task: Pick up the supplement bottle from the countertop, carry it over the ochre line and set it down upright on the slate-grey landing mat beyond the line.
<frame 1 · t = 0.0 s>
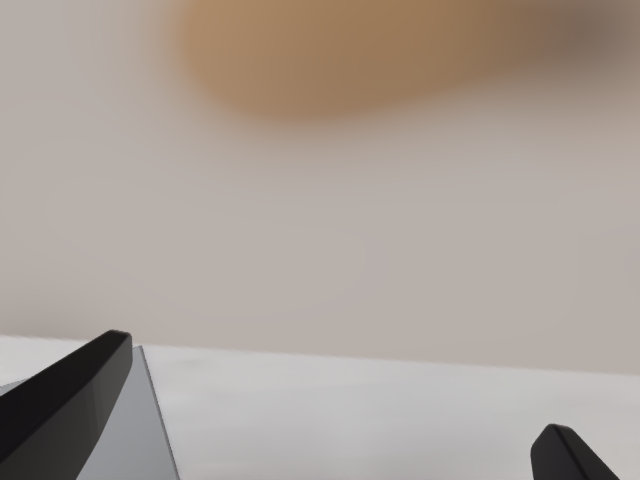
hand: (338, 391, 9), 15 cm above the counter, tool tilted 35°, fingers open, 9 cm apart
landing mat: (26, 456, 24), on the counter
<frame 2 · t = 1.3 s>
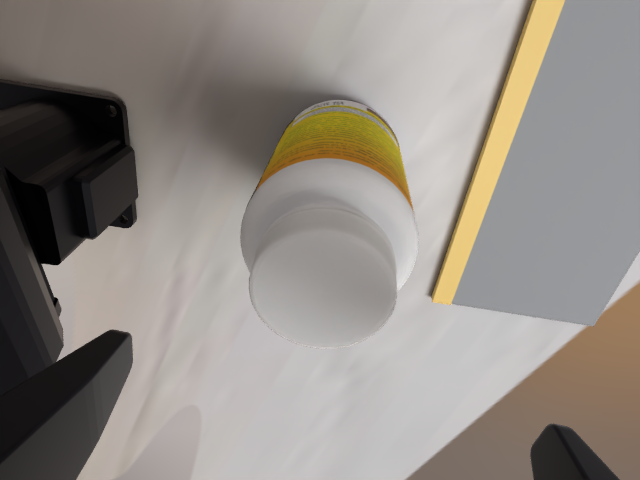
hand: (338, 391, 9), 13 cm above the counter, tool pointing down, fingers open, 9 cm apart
supplement bottle: (339, 156, 20), on the counter
landing mat: (579, 185, 20), on the counter
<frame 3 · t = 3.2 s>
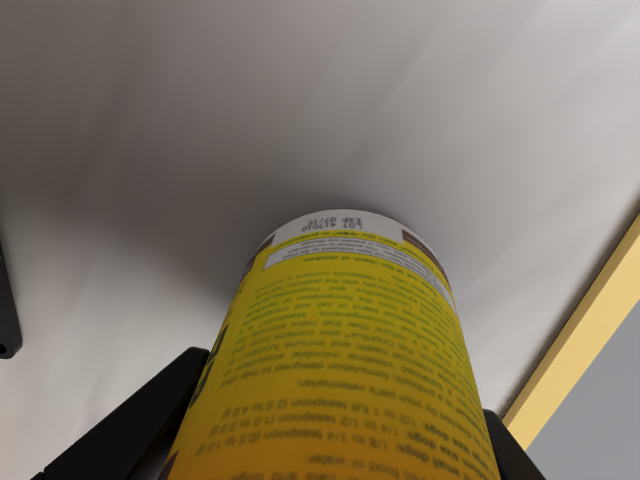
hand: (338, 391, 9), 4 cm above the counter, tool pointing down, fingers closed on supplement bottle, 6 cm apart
supplement bottle: (345, 285, 12), on the counter, touching gripper
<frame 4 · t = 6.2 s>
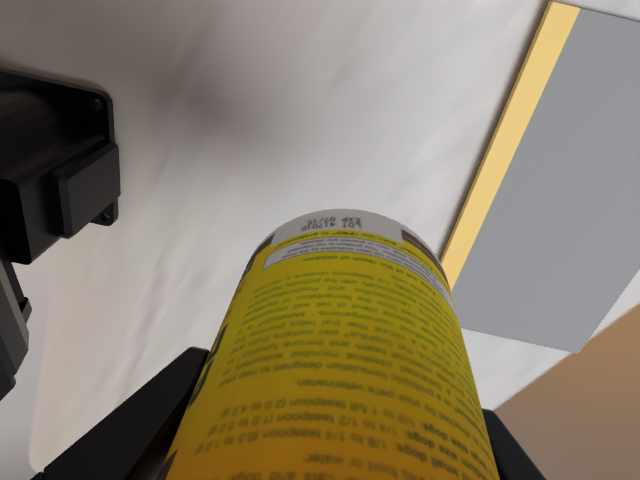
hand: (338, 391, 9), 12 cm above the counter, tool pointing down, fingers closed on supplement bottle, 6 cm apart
supplement bottle: (344, 284, 12), point 8 cm above the counter, touching gripper
landing mat: (573, 212, 20), on the counter
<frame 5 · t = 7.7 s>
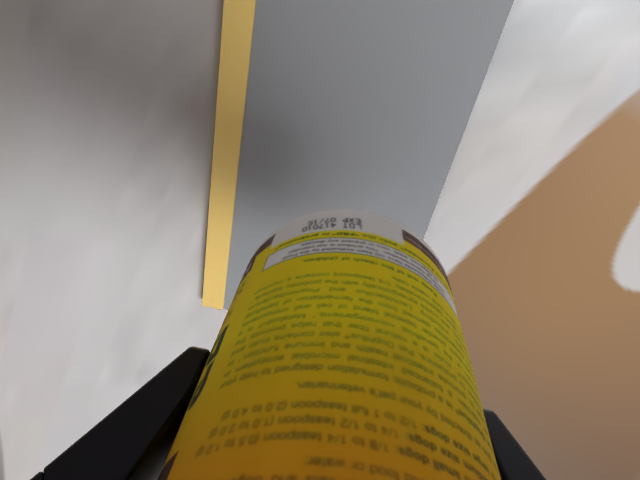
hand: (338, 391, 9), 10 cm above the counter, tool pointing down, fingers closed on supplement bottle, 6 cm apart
supplement bottle: (345, 285, 12), point 6 cm above the counter, touching gripper
landing mat: (335, 181, 17), on the counter
when the fingers open (5 cm above the counter, at t = 9.2 s): supplement bottle drops 2 cm, resting on landing mat.
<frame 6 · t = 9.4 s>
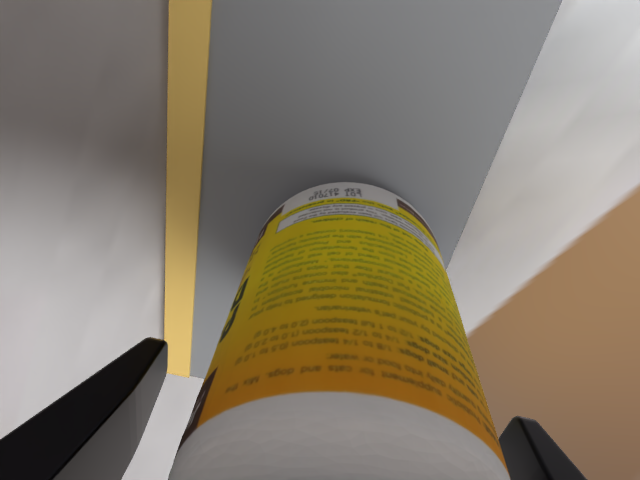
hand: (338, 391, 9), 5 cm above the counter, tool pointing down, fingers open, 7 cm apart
supplement bottle: (345, 254, 14), resting on landing mat
landing mat: (322, 232, 14), on the counter
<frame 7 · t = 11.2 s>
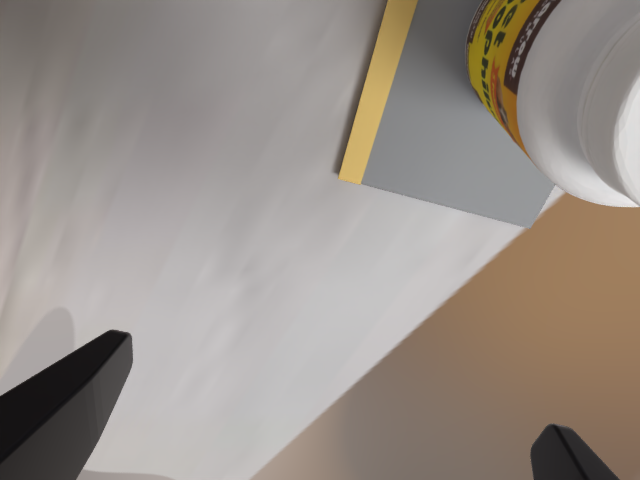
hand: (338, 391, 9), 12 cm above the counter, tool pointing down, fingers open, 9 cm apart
supplement bottle: (539, 41, 16), resting on landing mat
landing mat: (521, 20, 16), on the counter
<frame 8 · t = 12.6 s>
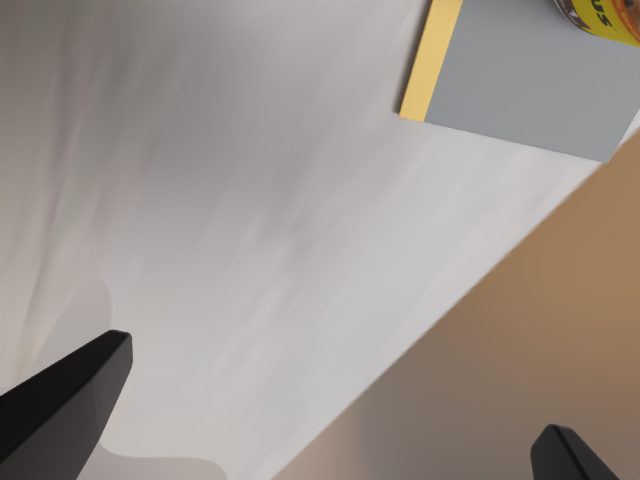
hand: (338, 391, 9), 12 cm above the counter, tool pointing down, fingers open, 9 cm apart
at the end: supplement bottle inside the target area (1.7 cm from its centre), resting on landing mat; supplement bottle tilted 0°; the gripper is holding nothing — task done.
